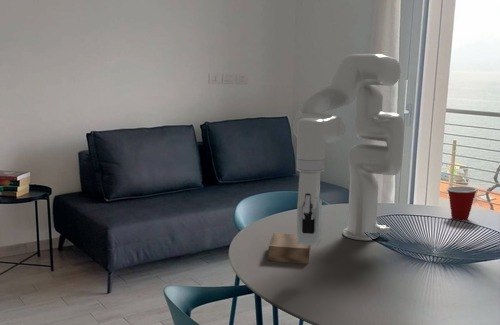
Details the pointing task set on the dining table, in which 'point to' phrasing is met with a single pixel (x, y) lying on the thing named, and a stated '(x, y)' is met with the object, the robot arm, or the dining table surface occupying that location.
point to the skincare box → (316, 237)
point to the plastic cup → (461, 201)
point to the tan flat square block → (288, 249)
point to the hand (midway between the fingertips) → (309, 229)
